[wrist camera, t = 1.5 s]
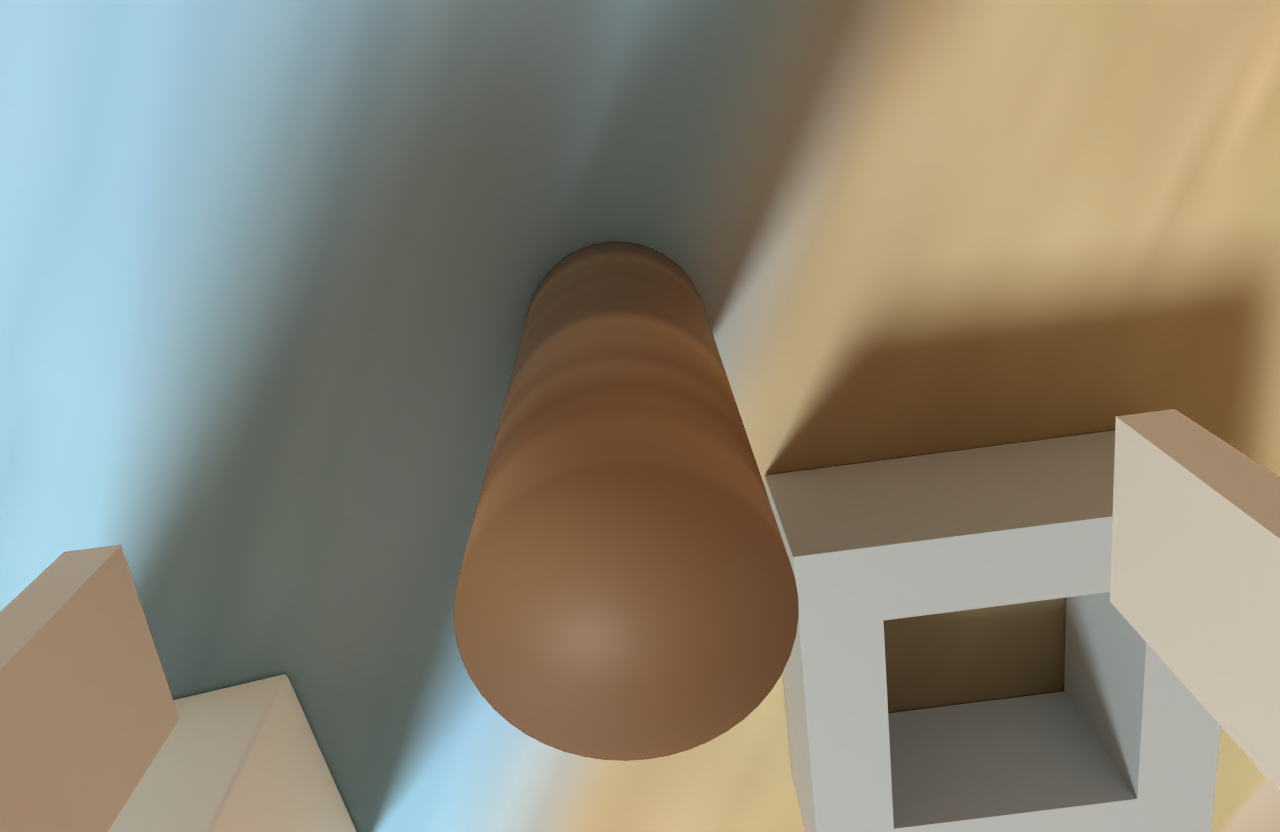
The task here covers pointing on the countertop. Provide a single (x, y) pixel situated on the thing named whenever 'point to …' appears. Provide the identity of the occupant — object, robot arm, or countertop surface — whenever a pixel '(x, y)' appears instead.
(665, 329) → the peg
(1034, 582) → the socket block
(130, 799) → the milk
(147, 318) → the countertop surface
